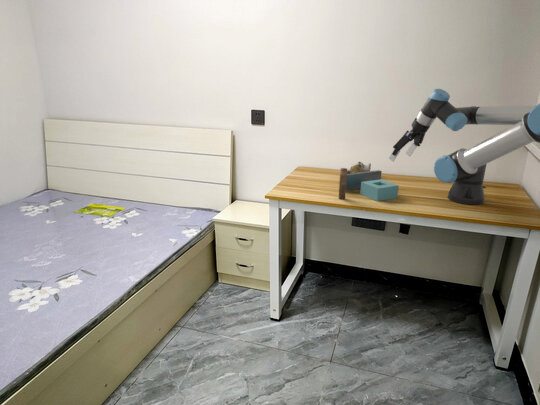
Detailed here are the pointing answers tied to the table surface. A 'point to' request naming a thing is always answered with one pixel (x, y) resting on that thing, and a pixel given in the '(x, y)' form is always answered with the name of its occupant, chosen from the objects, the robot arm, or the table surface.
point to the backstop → (361, 179)
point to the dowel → (342, 183)
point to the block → (379, 190)
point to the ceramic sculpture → (359, 168)
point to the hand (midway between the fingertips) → (399, 157)
